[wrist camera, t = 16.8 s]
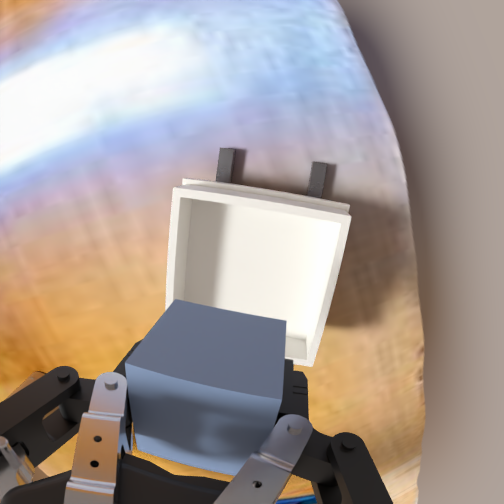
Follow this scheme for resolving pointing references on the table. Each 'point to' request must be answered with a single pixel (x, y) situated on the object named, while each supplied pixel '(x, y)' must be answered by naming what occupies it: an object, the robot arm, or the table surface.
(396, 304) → the table surface
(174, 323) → the block
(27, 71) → the table surface
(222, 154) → the rails
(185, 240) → the white square tray
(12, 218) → the table surface
